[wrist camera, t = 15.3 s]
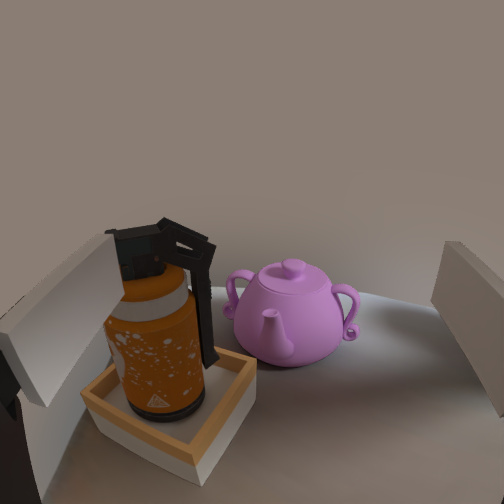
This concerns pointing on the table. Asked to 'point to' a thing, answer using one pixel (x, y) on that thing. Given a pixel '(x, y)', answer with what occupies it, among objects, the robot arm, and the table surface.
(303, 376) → the table surface
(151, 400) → the canister
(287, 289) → the teapot
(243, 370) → the orange-rimmed open box
